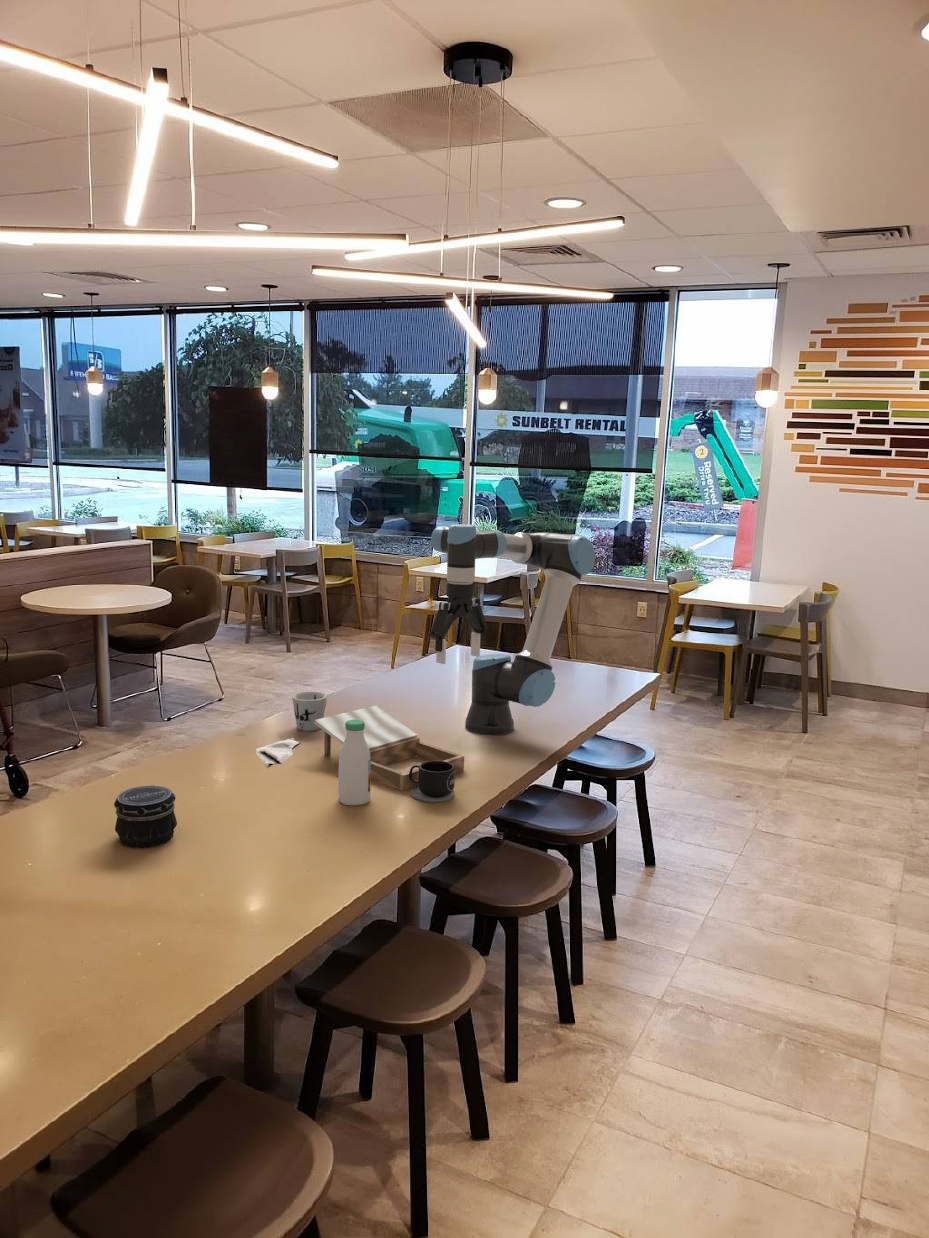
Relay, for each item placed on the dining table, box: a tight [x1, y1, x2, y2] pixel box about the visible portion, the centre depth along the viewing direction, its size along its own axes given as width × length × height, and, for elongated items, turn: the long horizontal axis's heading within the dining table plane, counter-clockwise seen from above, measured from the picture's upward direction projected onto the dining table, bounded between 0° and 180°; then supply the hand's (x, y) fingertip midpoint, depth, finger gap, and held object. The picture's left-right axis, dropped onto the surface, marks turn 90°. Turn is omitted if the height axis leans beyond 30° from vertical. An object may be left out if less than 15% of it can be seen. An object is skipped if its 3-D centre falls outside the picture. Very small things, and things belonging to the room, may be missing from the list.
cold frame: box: [314, 705, 465, 792], centre depth 254 cm, size 22×36×10 cm, turn 47°
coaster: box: [410, 786, 456, 803], centre depth 233 cm, size 11×11×1 cm
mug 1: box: [291, 691, 328, 732], centre depth 286 cm, size 10×15×10 cm
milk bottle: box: [337, 720, 372, 807], centre depth 225 cm, size 8×8×20 cm
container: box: [113, 784, 178, 849], centre depth 202 cm, size 13×13×10 cm
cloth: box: [255, 737, 301, 769], centre depth 261 cm, size 26×14×2 cm, turn 163°
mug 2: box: [408, 760, 456, 797], centre depth 232 cm, size 12×9×7 cm
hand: (458, 659), depth 254 cm, fingers open, 13 cm apart
